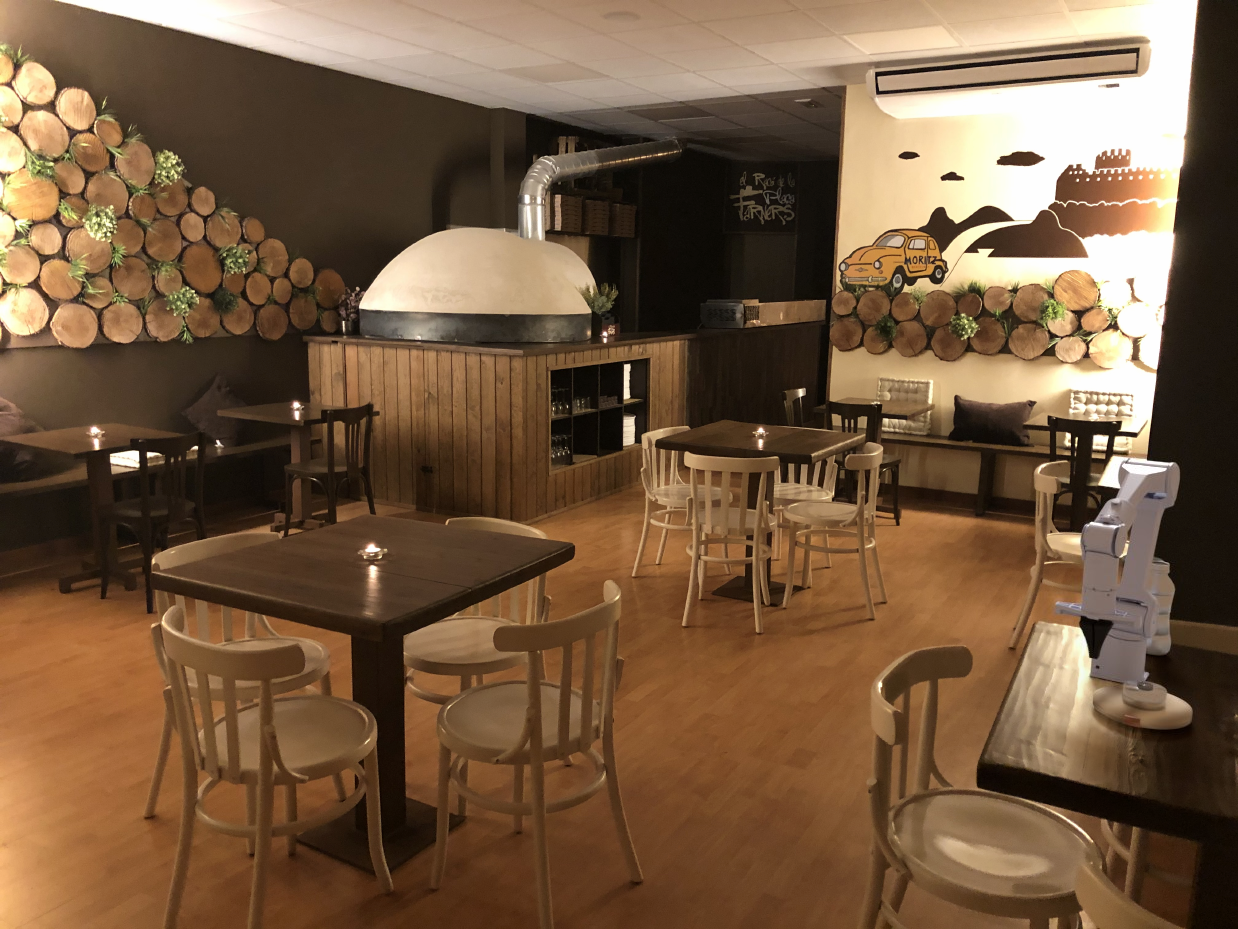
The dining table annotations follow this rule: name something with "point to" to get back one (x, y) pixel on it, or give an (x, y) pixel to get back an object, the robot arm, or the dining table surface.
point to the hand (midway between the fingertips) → (1094, 657)
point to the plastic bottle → (1164, 594)
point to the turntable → (1114, 708)
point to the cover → (1144, 695)
